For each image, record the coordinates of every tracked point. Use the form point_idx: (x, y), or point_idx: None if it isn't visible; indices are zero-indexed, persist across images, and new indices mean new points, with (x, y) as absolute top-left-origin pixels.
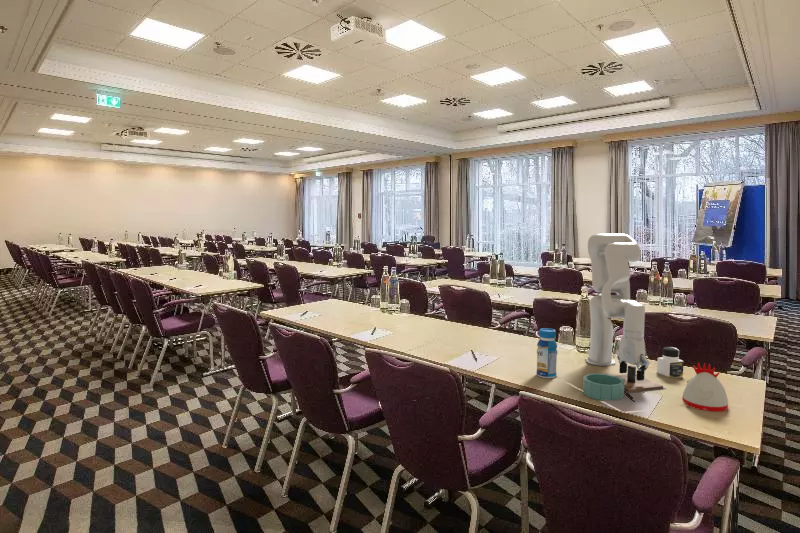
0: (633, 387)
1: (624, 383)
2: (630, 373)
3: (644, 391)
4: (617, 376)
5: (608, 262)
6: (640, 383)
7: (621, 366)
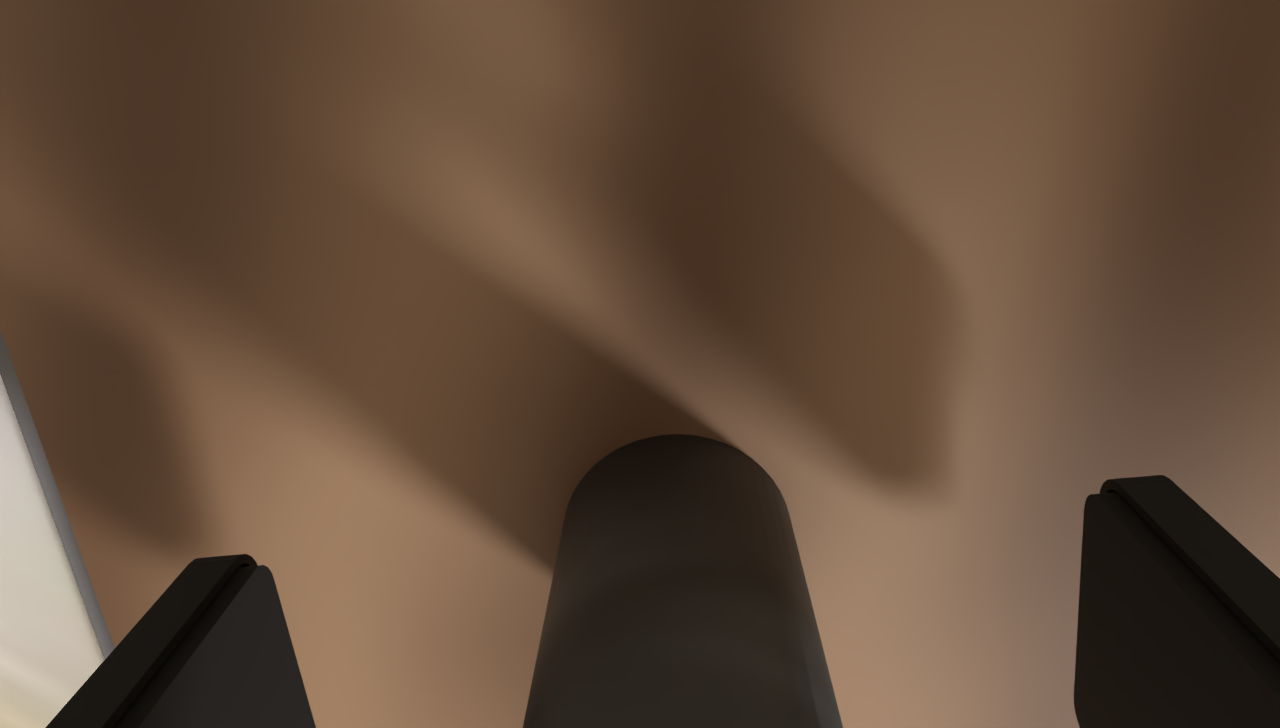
0: (122, 264)
1: (518, 216)
2: (579, 630)
3: (46, 462)
4: (1208, 421)
5: None
6: (464, 662)
7: (1245, 685)
